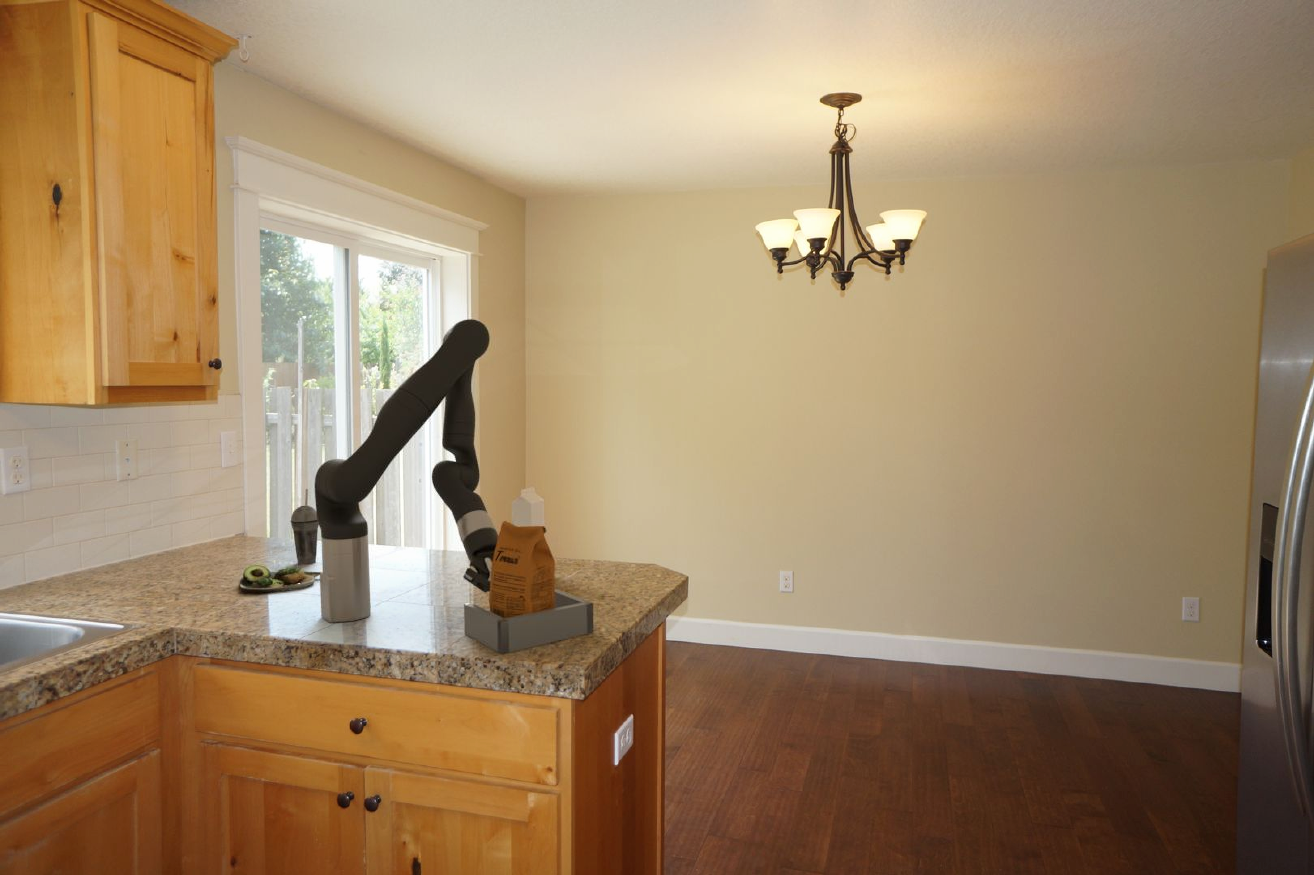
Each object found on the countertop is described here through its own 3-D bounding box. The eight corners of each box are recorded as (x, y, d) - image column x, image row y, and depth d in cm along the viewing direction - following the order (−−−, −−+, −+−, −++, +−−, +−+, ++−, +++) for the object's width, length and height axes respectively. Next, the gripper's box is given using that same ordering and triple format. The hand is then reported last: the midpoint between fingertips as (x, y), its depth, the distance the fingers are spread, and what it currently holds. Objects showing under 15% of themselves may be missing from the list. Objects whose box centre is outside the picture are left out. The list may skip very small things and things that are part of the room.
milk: (512, 576, 215) (510, 489, 213) (526, 571, 220) (524, 486, 218) (533, 578, 212) (530, 490, 210) (546, 573, 218) (544, 487, 216)
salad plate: (322, 572, 222) (322, 555, 221) (328, 588, 206) (328, 569, 205) (239, 581, 213) (238, 562, 213) (239, 598, 197) (238, 578, 197)
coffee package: (519, 622, 175) (516, 516, 173) (563, 634, 167) (561, 522, 165) (481, 635, 167) (478, 523, 165) (525, 647, 159) (523, 530, 158)
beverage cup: (286, 564, 230) (283, 490, 228) (304, 559, 237) (301, 487, 235) (308, 566, 227) (305, 491, 226) (326, 560, 234) (324, 488, 233)
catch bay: (501, 654, 156) (500, 621, 155) (464, 633, 168) (464, 603, 167) (593, 632, 168) (593, 602, 167) (552, 615, 180) (552, 587, 180)
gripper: (455, 530, 176) (482, 600, 167) (512, 522, 184) (541, 590, 175) (445, 551, 181) (471, 621, 172) (502, 543, 189) (529, 609, 180)
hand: (506, 605), depth 174 cm, fingers closed
